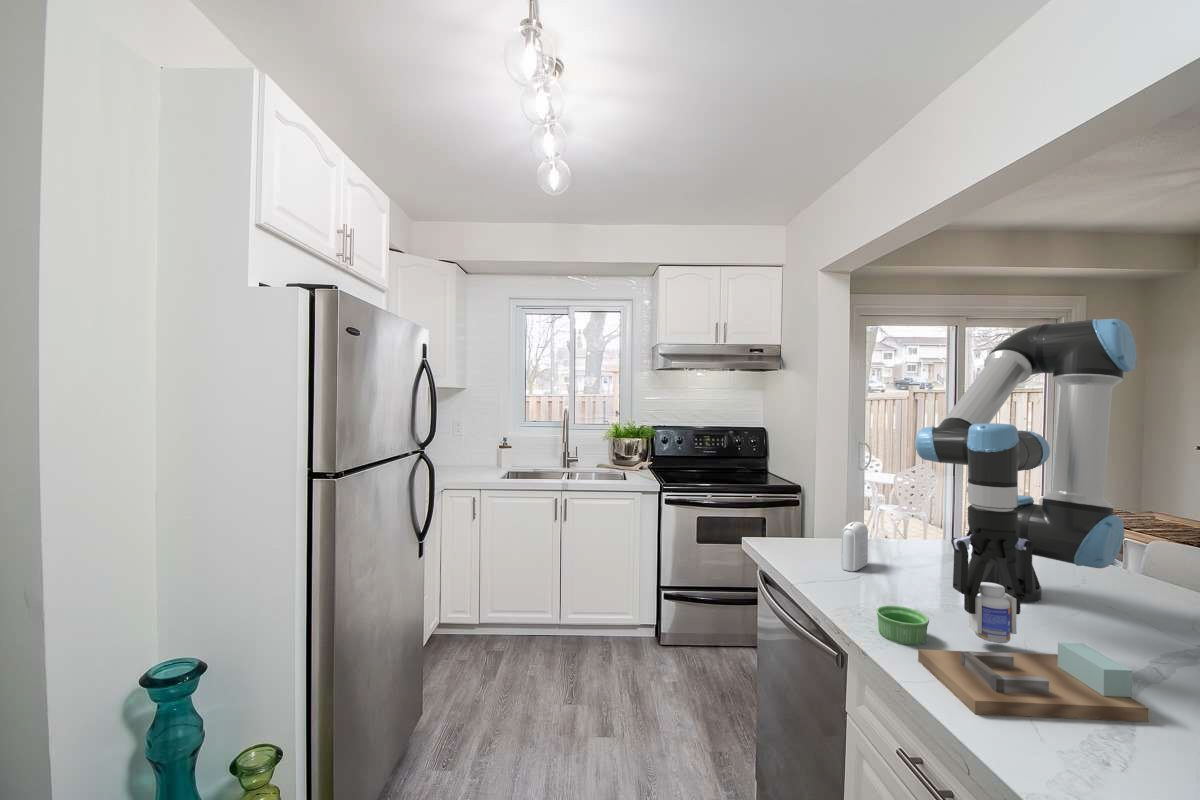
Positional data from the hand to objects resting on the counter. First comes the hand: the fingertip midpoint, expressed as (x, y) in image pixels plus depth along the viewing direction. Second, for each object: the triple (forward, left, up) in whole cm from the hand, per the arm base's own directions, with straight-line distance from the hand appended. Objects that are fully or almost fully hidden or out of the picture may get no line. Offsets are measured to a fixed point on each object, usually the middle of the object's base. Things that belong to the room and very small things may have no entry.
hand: (992, 630), depth 100 cm
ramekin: (+15, -4, -4) cm, 15 cm away
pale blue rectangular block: (-6, +15, -1) cm, 16 cm away
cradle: (+5, +14, -3) cm, 15 cm away
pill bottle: (0, 0, -2) cm, 2 cm away
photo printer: (+7, -47, -4) cm, 47 cm away
